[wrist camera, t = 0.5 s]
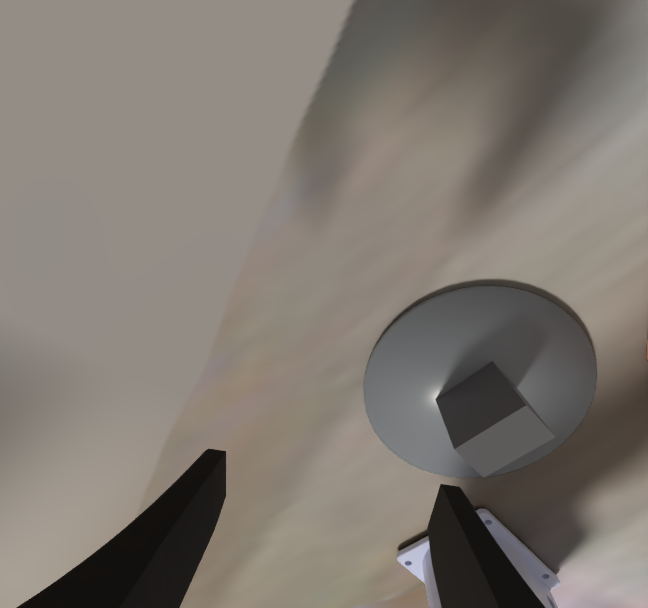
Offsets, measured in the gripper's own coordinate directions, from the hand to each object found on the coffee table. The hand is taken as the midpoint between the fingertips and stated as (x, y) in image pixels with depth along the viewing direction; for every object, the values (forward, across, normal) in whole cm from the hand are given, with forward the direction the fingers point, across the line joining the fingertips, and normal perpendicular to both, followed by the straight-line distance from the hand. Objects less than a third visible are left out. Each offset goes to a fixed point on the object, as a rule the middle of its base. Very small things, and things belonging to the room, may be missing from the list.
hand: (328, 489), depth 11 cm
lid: (+10, -8, +1) cm, 13 cm away
